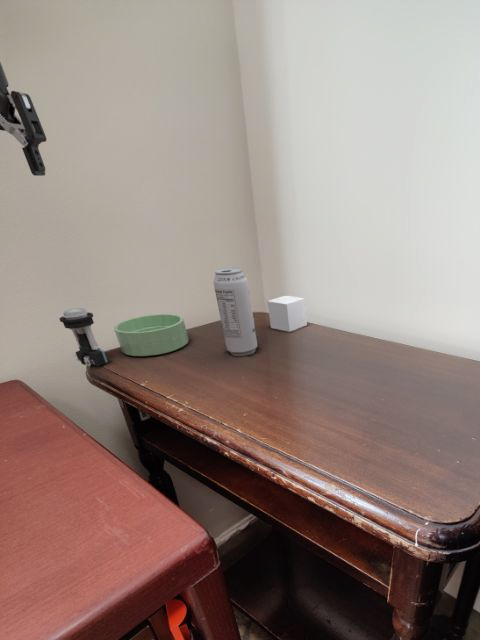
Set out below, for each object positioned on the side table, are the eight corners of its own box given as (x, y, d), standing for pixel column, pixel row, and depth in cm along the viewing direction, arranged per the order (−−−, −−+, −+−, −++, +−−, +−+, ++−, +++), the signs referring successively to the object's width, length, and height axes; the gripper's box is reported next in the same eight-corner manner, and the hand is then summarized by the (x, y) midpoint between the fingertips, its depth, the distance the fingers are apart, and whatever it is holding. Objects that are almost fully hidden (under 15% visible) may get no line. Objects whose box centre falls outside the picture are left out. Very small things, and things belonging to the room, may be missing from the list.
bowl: (108, 357, 79) (99, 332, 76) (145, 336, 89) (138, 313, 87) (169, 358, 77) (162, 333, 74) (199, 336, 87) (194, 314, 85)
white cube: (289, 332, 88) (286, 304, 85) (270, 327, 91) (267, 301, 88) (307, 324, 92) (305, 298, 89) (288, 321, 95) (285, 295, 92)
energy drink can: (264, 351, 78) (252, 269, 70) (237, 359, 75) (221, 275, 66) (248, 344, 82) (234, 266, 74) (222, 352, 79) (205, 271, 70)
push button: (67, 367, 75) (43, 313, 69) (88, 357, 79) (68, 306, 73) (96, 369, 73) (74, 315, 68) (116, 359, 77) (97, 307, 72)
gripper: (25, 45, 60) (70, 175, 69) (-53, 54, 62) (0, 179, 71) (-19, 30, 54) (36, 174, 63) (-104, 40, 56) (-39, 178, 65)
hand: (17, 176), depth 67 cm, fingers open, 8 cm apart
